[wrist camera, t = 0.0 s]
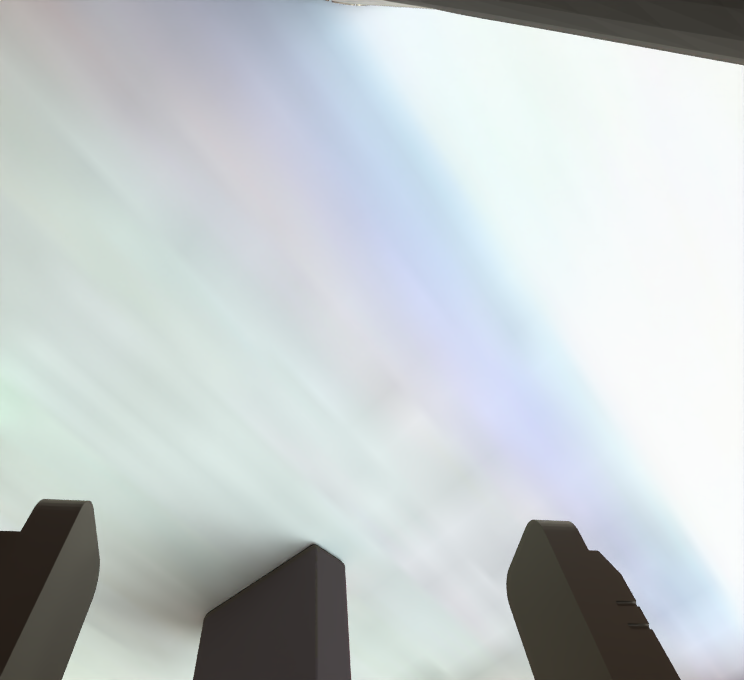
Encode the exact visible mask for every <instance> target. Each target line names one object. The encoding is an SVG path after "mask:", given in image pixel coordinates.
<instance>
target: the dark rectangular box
mask: <svg viewBox="0 0 744 680" xmlns="http://www.w3.org/2000/svg"><path fill="white" fill-rule="evenodd" d="M193 680H351V669H350V650H349V632H348V613H347V595H346V578H345V565H344V563H342V562H341V561H340V560H338V559H337V558H335V557H334V556H332V555H331V554H329V553H327V552H326V551H324V550H323V549H321V548H320V547H318V546H317V545H312V546H310V547H308V548H307V549H305V550H304V551H302V552H301V553H299V554H298V555H296V556H295V557H293V558H292V559H290V560H289V561H287V562H286V563H284V564H283V565H281V566H279V567H278V568H276V569H275V570H273V571H272V572H270V573H269V574H267V575H266V576H264V577H263V578H261V579H260V580H258V581H257V582H255V583H254V584H252V585H250V586H249V587H247V588H246V589H244V590H243V591H241V592H240V593H238V594H237V595H235V596H234V597H232V598H231V599H229V600H228V601H226V602H225V603H223V604H222V605H220V606H218V607H217V608H215V609H214V610H212V611H211V612H209V613H208V614H207V615H206V616H205V618H204V622H203V627H202V633H201V638H200V644H199V649H198V655H197V661H196V666H195V672H194V677H193Z"/></svg>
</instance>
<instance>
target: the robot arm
mask: <svg viewBox="0 0 744 680" xmlns="http://www.w3.org/2000/svg"><path fill="white" fill-rule="evenodd" d="M326 1H329V0H326ZM332 2H334V3H339V4H346V5H354V6H355V4H356V6H366V5H374V6H389V7H406V8H422V9H437V10H442V11H446V12H451V13H456V14H461V15H466V16H472V17H477V18H482V19H488V20H494V21H500V22H505V23H511V24H517V25H523V26H529V27H534V28H540V29H546V30H551V31H557V32H562V33H568V34H574V35H579V36H585V37H590V38H596V39H601V40H607V41H612V42H618V43H623V44H629V45H634V46H640V47H645V48H651V49H657V50H662V51H668V52H673V53H679V54H684V55H690V56H695V57H701V58H706V59H712V60H717V61H723V62H729V63H734V64H740V65H744V0H332ZM99 567H100V558H99V549H98V541H97V533H96V525H95V517H94V509H93V505H92V503H91V501H80V500H55V499H43V500H41V501H39V502H38V504H37V505H36V506H35V508H34V509H33V511H32V513H31V514H30V516H29V518H28V520H27V521H26V523H25V525H24V527H23V528H22V530H21V532H19V531H0V680H62V677H63V675H64V672H65V669H66V667H67V664H68V662H69V659H70V656H71V654H72V651H73V649H74V646H75V643H76V641H77V638H78V636H79V633H80V630H81V628H82V625H83V623H84V620H85V617H86V615H87V612H88V609H89V607H90V604H91V602H92V599H93V596H94V593H95V590H96V586H97V581H98V576H99ZM506 585H507V597H508V601H509V605H510V608H511V611H512V614H513V617H514V620H515V623H516V626H517V629H518V632H519V634H520V637H521V640H522V643H523V646H524V649H525V652H526V655H527V658H528V661H529V664H530V667H531V670H532V673H533V675H534V678H535V680H681V679H680V678H679V676H678V674H677V672H676V671H675V669H674V667H673V665H672V664H671V662H670V660H669V658H668V656H667V655H666V653H665V651H664V649H663V648H662V646H661V644H660V642H659V641H658V639H657V637H656V635H655V633H654V632H653V630H652V629H649V623H648V621H647V619H646V618H645V616H644V614H643V612H642V610H641V609H640V607H638V606H637V605H636V600H635V598H634V596H633V595H632V593H631V591H630V589H629V587H628V586H627V584H626V582H625V580H624V579H623V577H622V575H621V574H620V573H619V572H618V571H617V570H616V569H615V568H614V567H613V565H612V564H611V563H610V562H609V561H608V560H607V559H606V558H605V557H604V556H603V555H602V554H601V553H600V552H599V551H590V550H588V548H587V546H586V544H585V543H584V541H583V539H582V537H581V535H580V533H579V531H578V529H577V528H576V526H575V525H574V524H573V523H571V522H569V521H551V520H531V521H530V522H529V523H528V524H527V526H526V528H525V531H524V533H523V535H522V538H521V540H520V543H519V545H518V548H517V550H516V553H515V555H514V557H513V560H512V562H511V565H510V567H509V570H508V574H507V583H506Z"/></svg>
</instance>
